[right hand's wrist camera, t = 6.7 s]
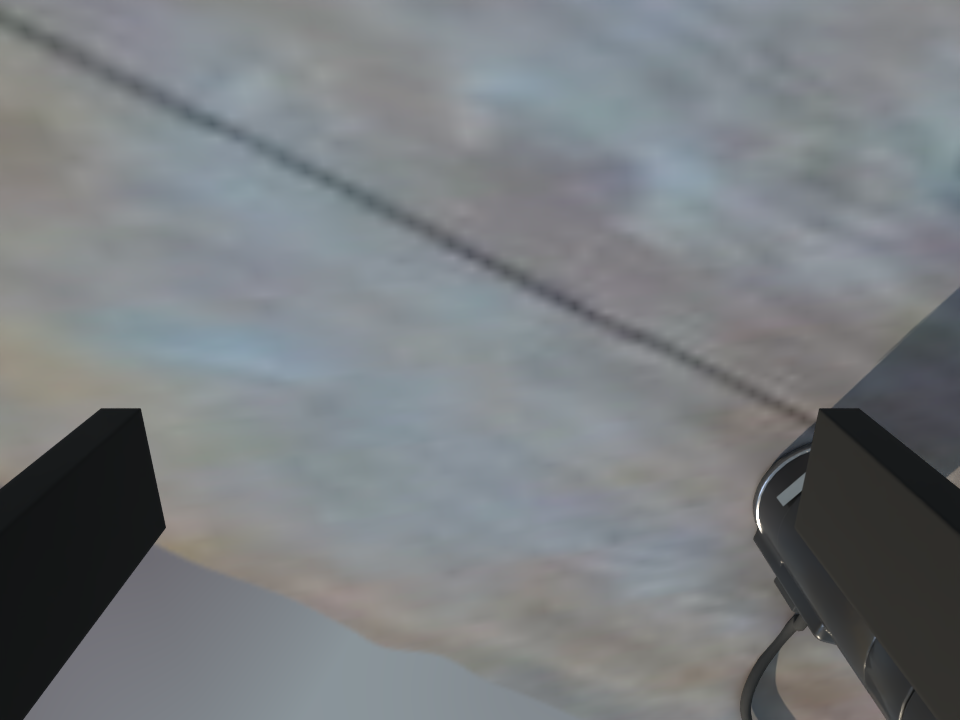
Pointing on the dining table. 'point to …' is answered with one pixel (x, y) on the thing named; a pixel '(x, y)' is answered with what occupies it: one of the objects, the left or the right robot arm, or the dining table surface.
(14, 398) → the dining table surface
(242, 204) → the dining table surface
